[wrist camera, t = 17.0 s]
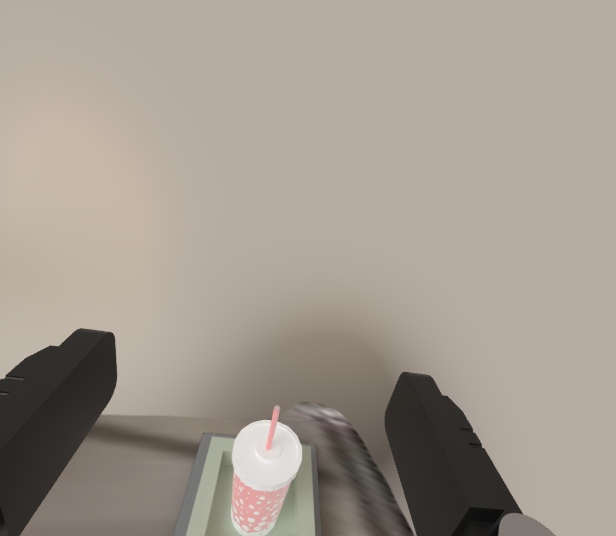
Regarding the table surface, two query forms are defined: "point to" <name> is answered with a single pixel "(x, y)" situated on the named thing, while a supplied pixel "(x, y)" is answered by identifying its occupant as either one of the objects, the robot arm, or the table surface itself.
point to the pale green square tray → (218, 494)
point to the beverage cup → (262, 474)
